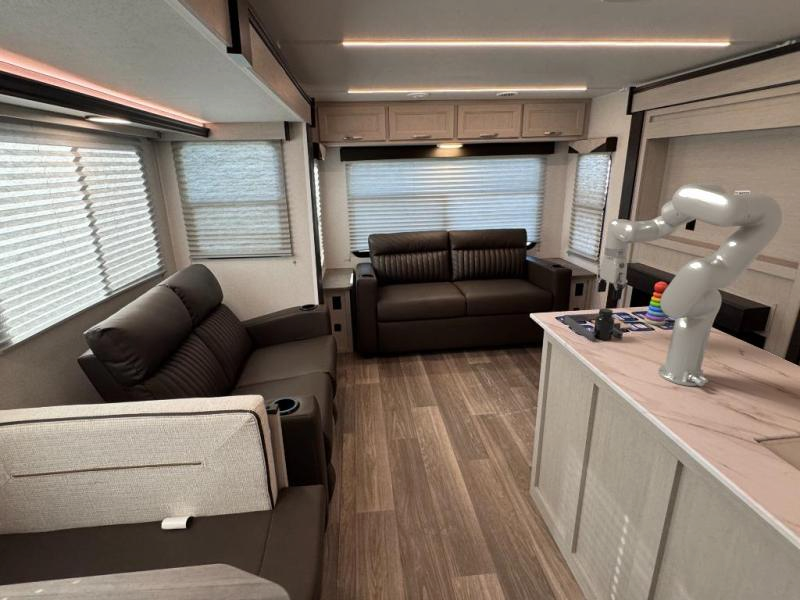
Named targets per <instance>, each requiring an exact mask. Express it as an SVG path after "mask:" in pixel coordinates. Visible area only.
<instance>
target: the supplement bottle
mask: <svg viewBox="0 0 800 600" xmlns="http://www.w3.org/2000/svg"><path fill="white" fill-rule="evenodd" d="M598 311H599V312H598V313H599V315H598V316H596V319H595V323H594V327H593V334H594V340H595V339H596V340H597V339H598V341H601V340H602V342H608V341H609V342H610V341H611V340H612V339H613V336H612V334H613V327H614V319H615V318H614V317H613V316H614V315H613V312H614V311H613V309H610V308H600V309H599V310H598Z"/></svg>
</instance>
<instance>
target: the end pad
mask: <svg viewBox="0 0 800 600" xmlns="http://www.w3.org/2000/svg"><path fill="white" fill-rule="evenodd" d="M591 322H592V323H594V324H595V320H591ZM614 323H621V326H620V330H621V329H632V327H631V326H629V325H628V324H626V323H624V322H623V321H621V320H620V319H618V318H614Z"/></svg>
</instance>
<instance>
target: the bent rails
mask: <svg viewBox="0 0 800 600" xmlns="http://www.w3.org/2000/svg"><path fill="white" fill-rule="evenodd" d="M598 315H599V312H598V313H581V314H564V315H563V319H562V320H563V321H562V322H563V323H565V324H566V325H567V326H569V328H571V329H573V330H574V331H575V332H577V333H578V334H580V335H581V336H582V337H583V338H585V339H586V338H587V339H586V340H588V341H589V340H590V341H589V342H591V341H595V338H594V332H592V331H590V330H588V329H587V328H585V327H584V326H583V325H581V324H580V323H578V322H589V321H591V320H595V319H596V316H598ZM591 322H592V321H591ZM620 326H621V323H614V327H613V334H612V337H614V338H615V339H617V340H618V339H619V341H622V340H623V336H624V335H623V334H624V333H623V332H621V331H620V330H621V329H620Z"/></svg>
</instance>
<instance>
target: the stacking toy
mask: <svg viewBox="0 0 800 600" xmlns="http://www.w3.org/2000/svg"><path fill="white" fill-rule="evenodd" d="M668 286H669V284H667V282H664V281H659V282H656V283H655V284H654V286H653V287H654V292H653V294H652V295H653V296H651V299H650V302H649V306H648V308H647V311H646V312H647V313H645V317H644V319H643V320H644V323H646V324H648V325H652V326H663V325H665V324H666V316H667V315H666V314H665V313H664V312H663V311H662V309H661V306H660V301H661V297H662V295H663V293H664V291H665V290H666V288H667V287H668Z"/></svg>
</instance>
